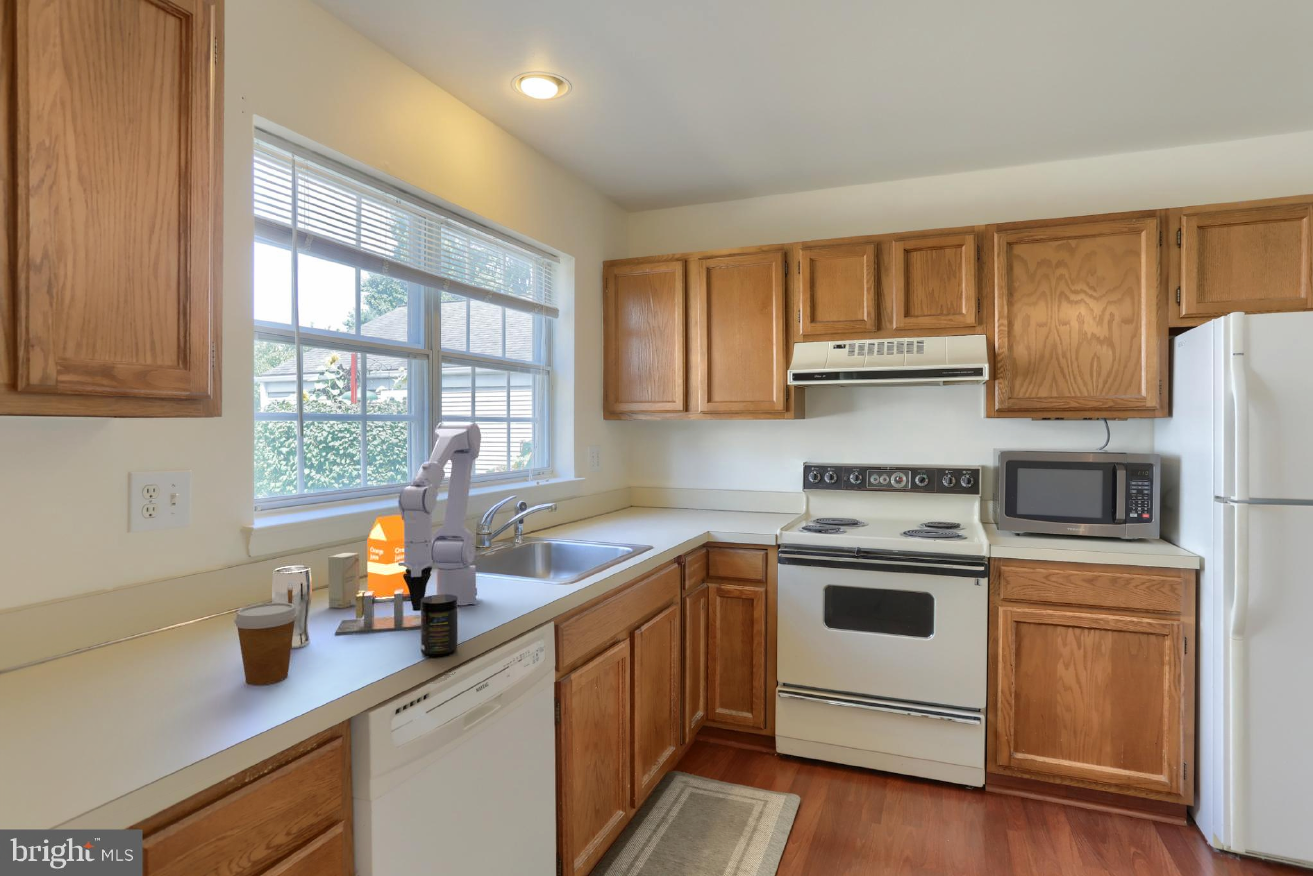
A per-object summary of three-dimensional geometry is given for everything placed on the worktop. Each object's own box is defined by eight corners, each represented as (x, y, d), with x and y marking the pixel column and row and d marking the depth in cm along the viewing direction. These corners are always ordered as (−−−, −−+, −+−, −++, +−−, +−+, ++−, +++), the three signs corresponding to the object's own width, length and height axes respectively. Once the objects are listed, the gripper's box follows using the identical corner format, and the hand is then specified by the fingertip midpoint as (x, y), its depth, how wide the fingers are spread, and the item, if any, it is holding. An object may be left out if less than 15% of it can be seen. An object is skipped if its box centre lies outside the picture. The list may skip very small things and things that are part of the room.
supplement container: (463, 654, 132) (463, 599, 131) (428, 661, 127) (427, 605, 127) (450, 645, 137) (449, 592, 137) (415, 652, 133) (415, 597, 133)
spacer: (365, 611, 151) (365, 590, 151) (362, 618, 146) (361, 596, 146) (359, 612, 151) (359, 590, 151) (355, 618, 146) (355, 596, 146)
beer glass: (320, 642, 139) (319, 567, 138) (289, 652, 132) (288, 574, 132) (296, 637, 142) (295, 564, 141) (264, 647, 135) (263, 570, 135)
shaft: (424, 607, 153) (424, 582, 153) (423, 610, 151) (423, 585, 151) (352, 612, 149) (352, 587, 149) (350, 615, 147) (350, 589, 147)
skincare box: (344, 608, 164) (343, 557, 163) (327, 607, 165) (327, 556, 164) (360, 602, 170) (360, 552, 170) (344, 601, 171) (344, 551, 170)
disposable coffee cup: (253, 693, 112) (253, 619, 112) (223, 682, 117) (222, 611, 117) (310, 675, 120) (309, 606, 120) (279, 665, 125) (278, 599, 125)
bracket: (428, 616, 157) (428, 585, 157) (427, 628, 148) (426, 594, 148) (342, 623, 152) (342, 590, 152) (335, 635, 143) (335, 600, 143)
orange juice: (367, 595, 177) (366, 516, 176) (396, 588, 184) (396, 513, 184) (387, 599, 173) (386, 519, 172) (416, 591, 180) (415, 515, 180)
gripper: (401, 536, 157) (401, 596, 158) (395, 547, 143) (395, 613, 144) (433, 535, 159) (434, 594, 160) (431, 546, 145) (431, 610, 146)
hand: (418, 603), depth 152 cm, fingers open, 4 cm apart
